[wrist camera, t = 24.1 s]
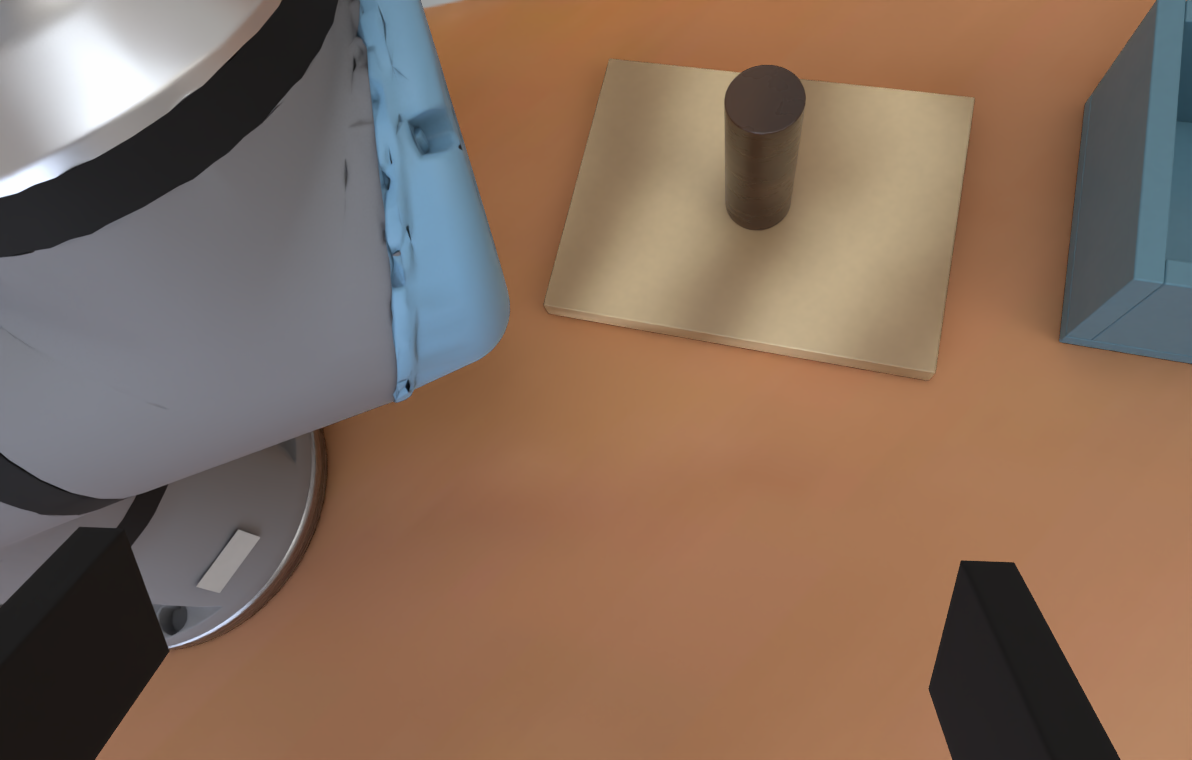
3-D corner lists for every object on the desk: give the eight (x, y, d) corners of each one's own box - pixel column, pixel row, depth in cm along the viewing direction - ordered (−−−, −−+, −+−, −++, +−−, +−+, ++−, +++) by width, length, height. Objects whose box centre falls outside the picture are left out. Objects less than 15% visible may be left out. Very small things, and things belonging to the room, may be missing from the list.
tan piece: (548, 313, 40) (497, 227, 31) (612, 72, 43) (582, -67, 34) (929, 381, 36) (992, 305, 27) (968, 112, 39) (1036, -33, 31)
